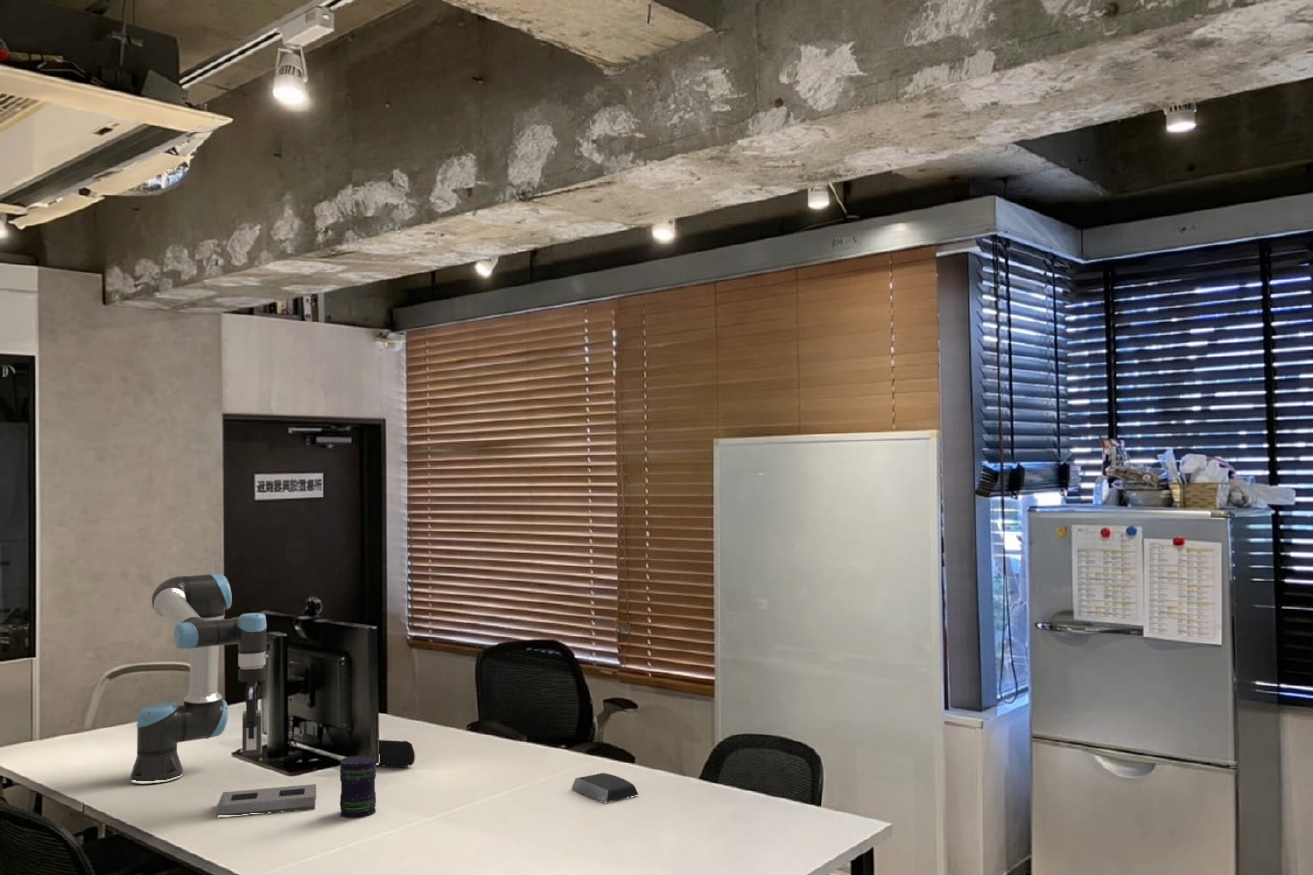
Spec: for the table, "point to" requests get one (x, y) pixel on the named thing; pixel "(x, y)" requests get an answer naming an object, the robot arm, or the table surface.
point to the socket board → (267, 800)
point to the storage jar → (357, 786)
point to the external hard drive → (604, 787)
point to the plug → (258, 735)
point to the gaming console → (396, 752)
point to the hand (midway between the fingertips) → (251, 747)
